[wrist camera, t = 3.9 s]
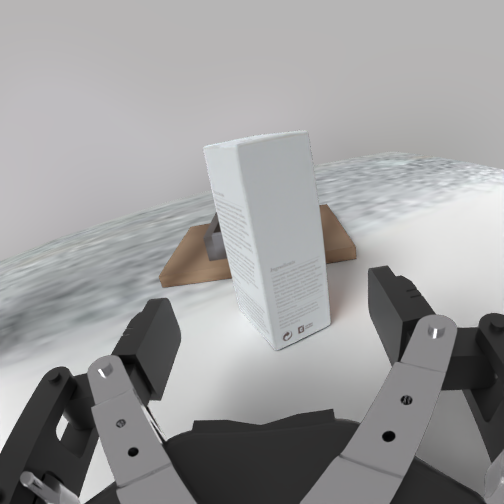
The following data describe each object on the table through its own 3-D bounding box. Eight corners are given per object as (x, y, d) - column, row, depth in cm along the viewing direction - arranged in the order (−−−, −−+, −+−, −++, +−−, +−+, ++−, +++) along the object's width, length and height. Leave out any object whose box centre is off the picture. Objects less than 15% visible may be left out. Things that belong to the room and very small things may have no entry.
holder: (162, 287, 29) (151, 253, 27) (192, 235, 42) (186, 209, 40) (356, 258, 27) (353, 220, 26) (327, 213, 40) (324, 186, 38)
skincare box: (333, 325, 19) (311, 129, 15) (275, 354, 18) (232, 143, 13) (287, 289, 25) (260, 133, 20) (237, 309, 23) (199, 146, 19)
